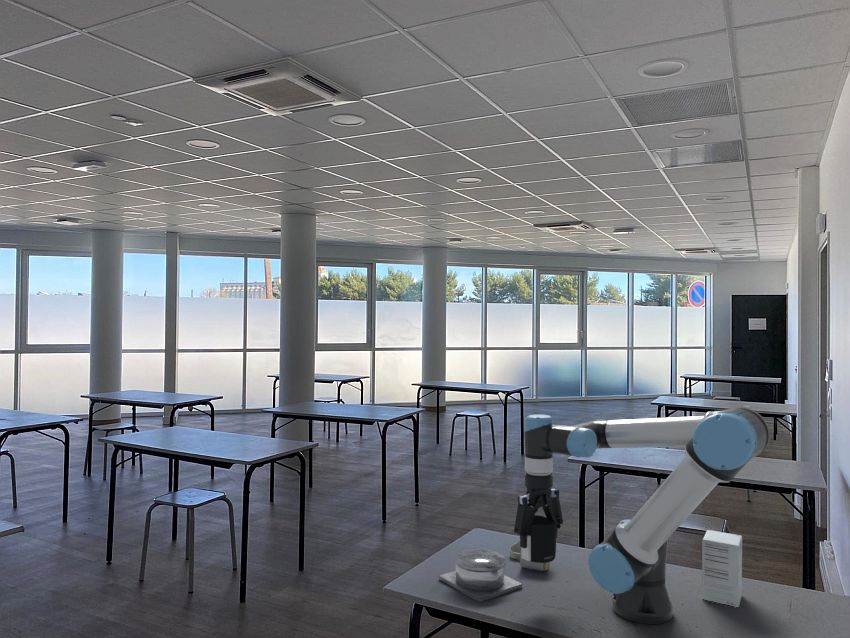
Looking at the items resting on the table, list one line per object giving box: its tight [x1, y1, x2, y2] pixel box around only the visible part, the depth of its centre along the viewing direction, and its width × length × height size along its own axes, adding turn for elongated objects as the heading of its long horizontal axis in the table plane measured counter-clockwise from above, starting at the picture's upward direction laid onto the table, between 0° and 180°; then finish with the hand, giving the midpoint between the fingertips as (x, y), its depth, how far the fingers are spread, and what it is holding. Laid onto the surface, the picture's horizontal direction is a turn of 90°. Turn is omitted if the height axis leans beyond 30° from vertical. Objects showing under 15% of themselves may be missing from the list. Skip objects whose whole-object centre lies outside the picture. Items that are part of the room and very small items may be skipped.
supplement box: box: [701, 529, 743, 608], centre depth 172 cm, size 10×9×17 cm
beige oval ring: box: [509, 539, 521, 561], centre depth 201 cm, size 9×6×5 cm
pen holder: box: [524, 514, 558, 563], centre depth 169 cm, size 9×9×10 cm
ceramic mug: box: [519, 547, 551, 572], centre depth 193 cm, size 11×8×8 cm
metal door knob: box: [438, 548, 523, 603], centre depth 180 cm, size 18×16×7 cm
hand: (539, 555), depth 169 cm, fingers closed on pen holder, 9 cm apart
